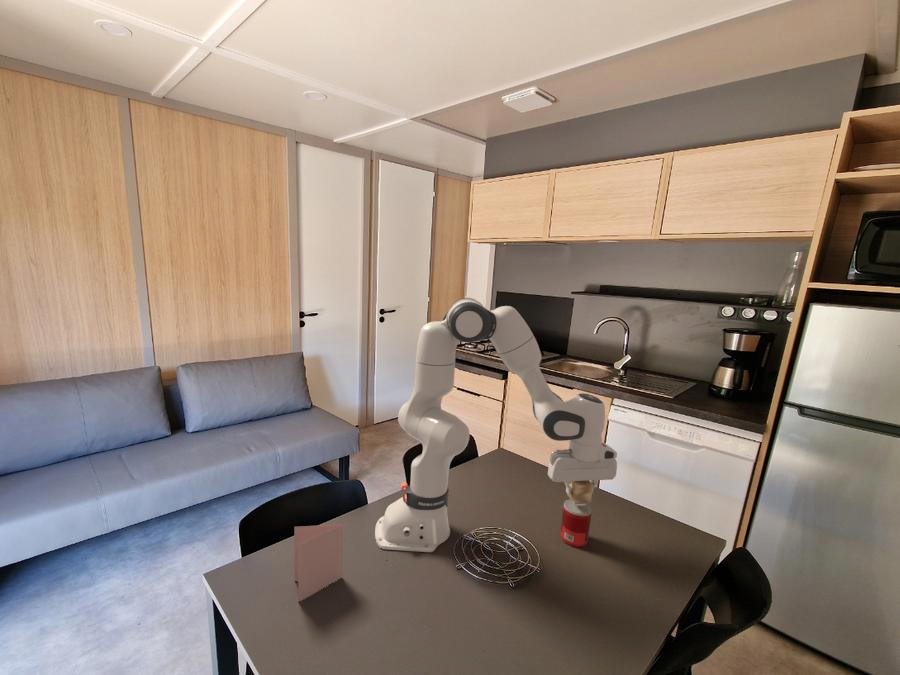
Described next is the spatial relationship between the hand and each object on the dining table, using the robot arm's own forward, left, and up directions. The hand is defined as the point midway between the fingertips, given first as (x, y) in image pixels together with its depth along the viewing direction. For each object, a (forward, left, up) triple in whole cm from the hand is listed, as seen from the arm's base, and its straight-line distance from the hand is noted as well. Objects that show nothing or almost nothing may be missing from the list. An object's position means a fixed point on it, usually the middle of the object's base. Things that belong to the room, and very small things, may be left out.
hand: (579, 492), depth 118 cm
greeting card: (-73, -11, -16) cm, 75 cm away
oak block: (0, 0, -2) cm, 2 cm away
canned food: (0, 0, -16) cm, 16 cm away
